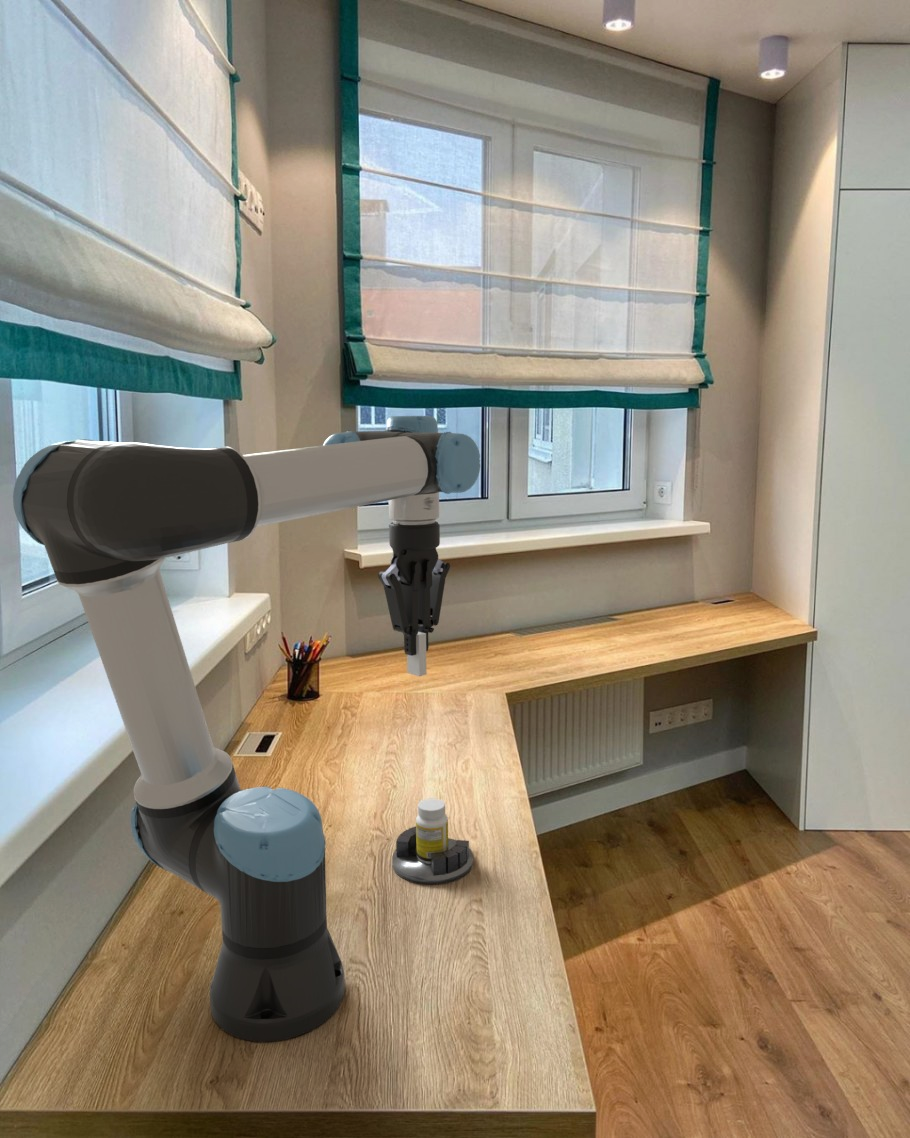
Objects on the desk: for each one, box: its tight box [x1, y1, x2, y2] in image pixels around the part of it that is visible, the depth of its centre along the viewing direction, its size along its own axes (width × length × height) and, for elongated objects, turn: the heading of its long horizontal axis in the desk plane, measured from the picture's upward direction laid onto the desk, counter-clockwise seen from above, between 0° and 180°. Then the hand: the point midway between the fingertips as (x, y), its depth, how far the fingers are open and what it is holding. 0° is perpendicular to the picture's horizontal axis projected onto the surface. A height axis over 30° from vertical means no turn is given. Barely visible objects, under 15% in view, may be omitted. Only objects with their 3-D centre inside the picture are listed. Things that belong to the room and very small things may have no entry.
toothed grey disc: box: [391, 825, 474, 886], centre depth 128 cm, size 12×12×4 cm
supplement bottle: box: [415, 798, 449, 864], centre depth 128 cm, size 5×5×8 cm
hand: (416, 673), depth 133 cm, fingers closed
